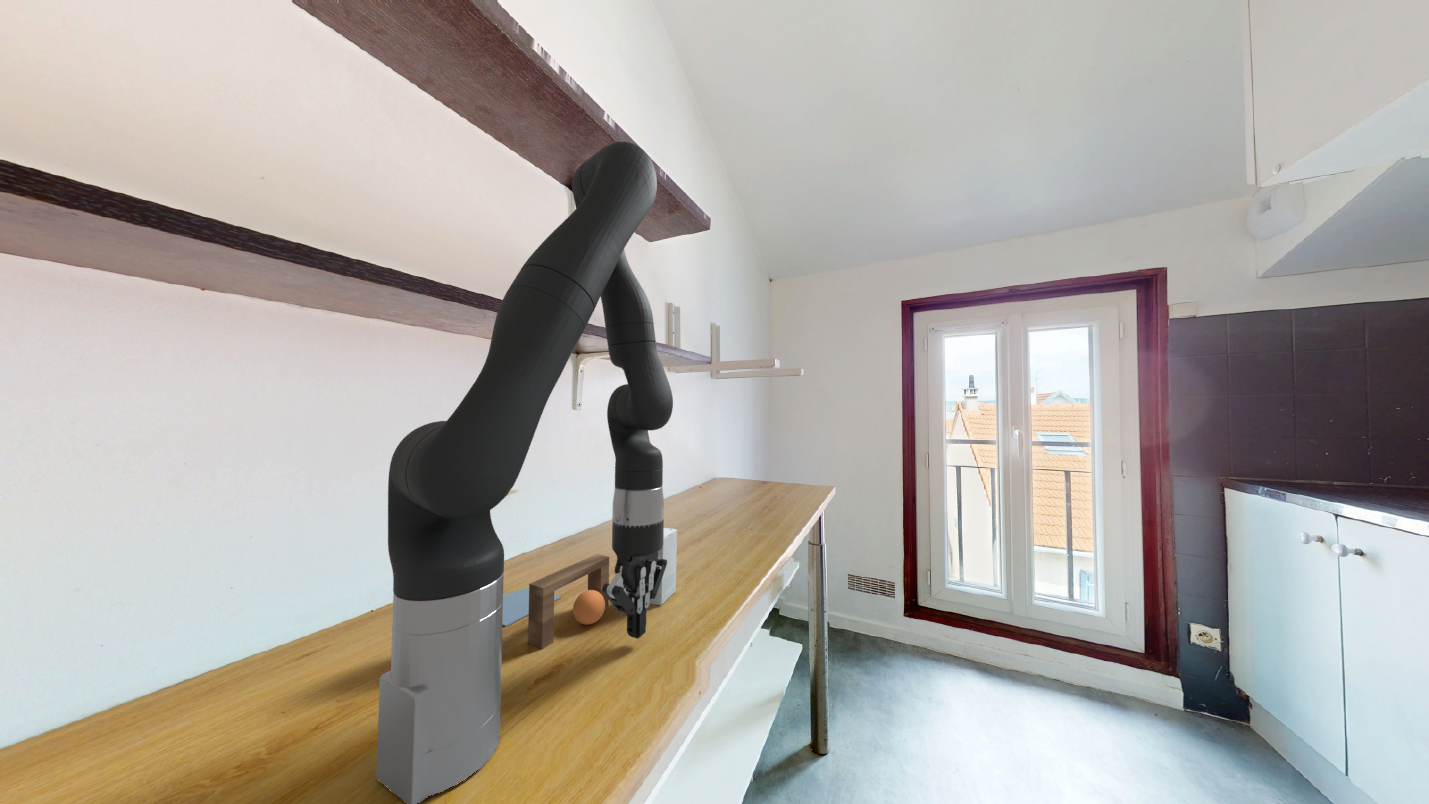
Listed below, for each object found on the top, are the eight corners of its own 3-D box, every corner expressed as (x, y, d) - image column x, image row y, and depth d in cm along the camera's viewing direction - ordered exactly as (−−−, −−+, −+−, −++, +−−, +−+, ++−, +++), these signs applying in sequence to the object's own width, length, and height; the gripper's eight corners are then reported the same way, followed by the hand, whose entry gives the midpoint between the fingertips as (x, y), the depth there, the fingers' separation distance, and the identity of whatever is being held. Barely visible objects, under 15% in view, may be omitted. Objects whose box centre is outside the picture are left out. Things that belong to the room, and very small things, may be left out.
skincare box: (656, 588, 76) (657, 526, 77) (677, 592, 75) (678, 528, 75) (640, 603, 70) (641, 535, 71) (662, 607, 69) (663, 538, 69)
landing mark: (505, 626, 62) (506, 625, 62) (463, 610, 67) (463, 609, 67) (560, 597, 72) (560, 596, 72) (520, 585, 77) (520, 584, 77)
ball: (574, 634, 62) (593, 627, 60) (561, 604, 63) (580, 596, 61) (597, 616, 67) (615, 609, 64) (585, 588, 68) (603, 581, 65)
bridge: (608, 606, 69) (609, 556, 69) (542, 649, 56) (543, 588, 57) (595, 602, 70) (596, 553, 71) (527, 643, 58) (529, 584, 58)
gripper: (630, 532, 51) (628, 668, 50) (682, 510, 62) (681, 620, 62) (586, 524, 54) (584, 652, 53) (644, 504, 66) (643, 609, 65)
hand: (636, 634), depth 58 cm, fingers closed
